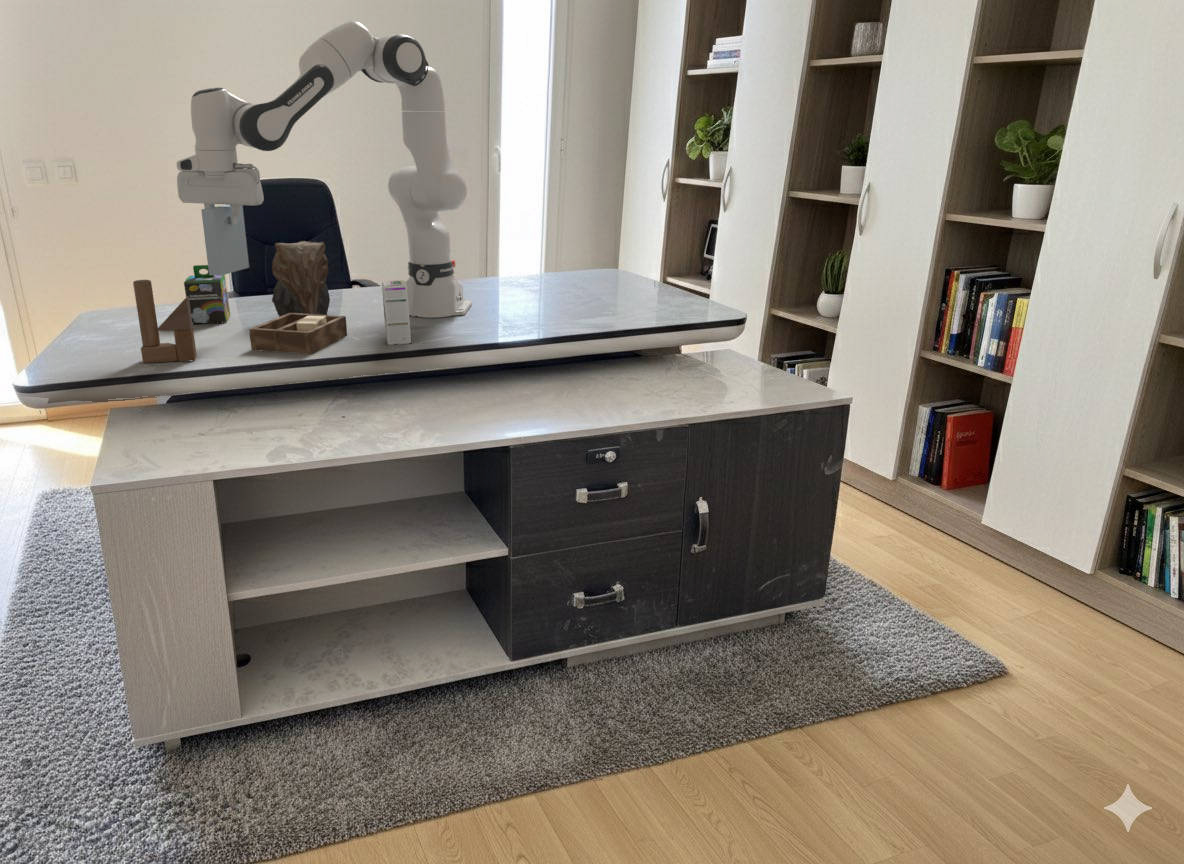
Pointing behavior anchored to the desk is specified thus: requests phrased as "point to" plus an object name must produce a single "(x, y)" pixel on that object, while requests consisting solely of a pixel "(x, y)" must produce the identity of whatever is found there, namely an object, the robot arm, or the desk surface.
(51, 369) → the desk surface
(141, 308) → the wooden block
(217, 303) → the chalk box
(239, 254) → the tall sheet
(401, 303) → the syrup box
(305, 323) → the short pine offcut
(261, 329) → the walnut rack
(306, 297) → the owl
